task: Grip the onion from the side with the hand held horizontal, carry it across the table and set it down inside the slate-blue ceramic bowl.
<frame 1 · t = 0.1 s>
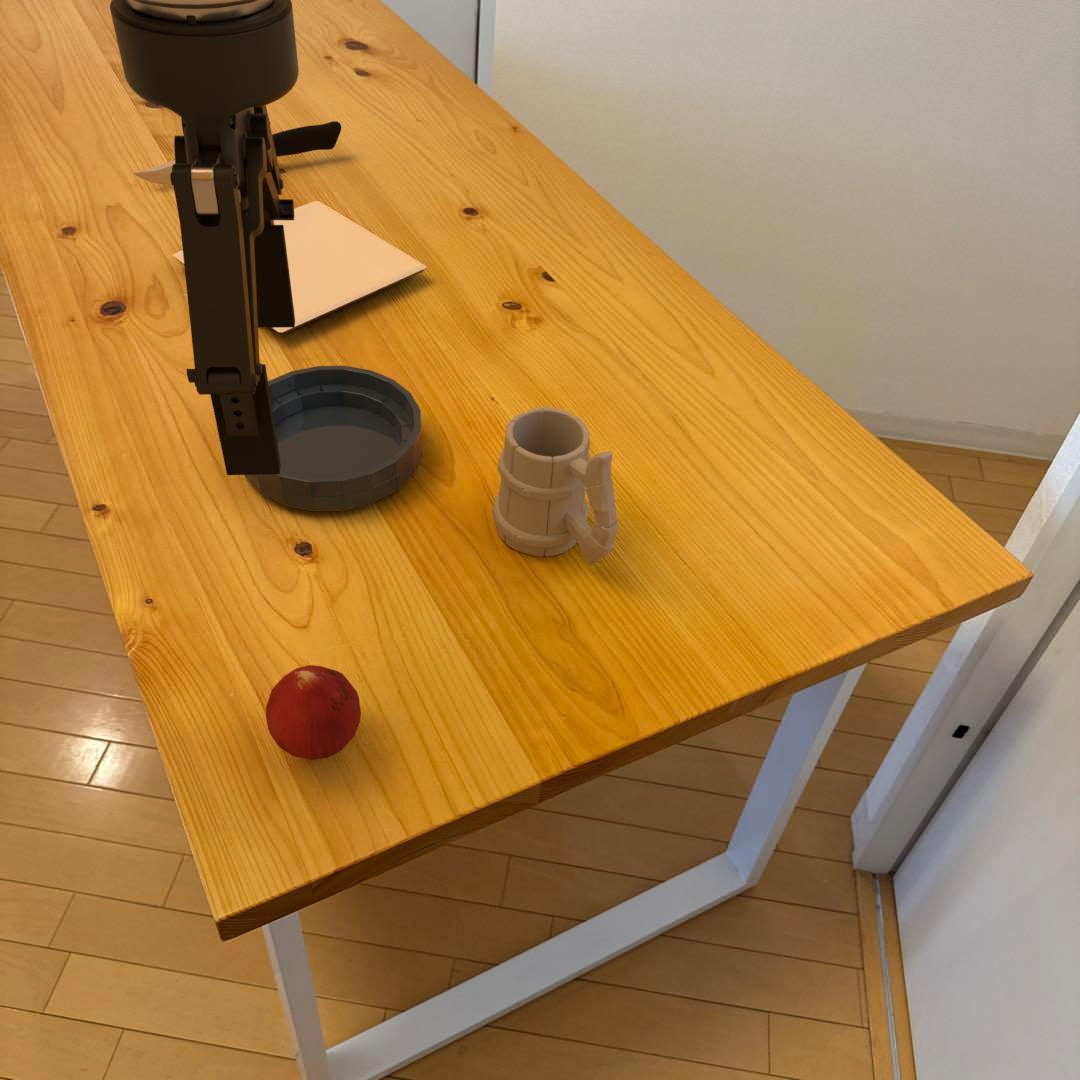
hand: (264, 391, 58), 21 cm above the table, tool pointing down, fingers open, 13 cm apart
plate: (302, 278, 106), on the table
onion: (319, 746, 66), on the table
bowl: (332, 456, 86), on the table
knife: (244, 176, 121), on the table
mug: (555, 542, 81), on the table
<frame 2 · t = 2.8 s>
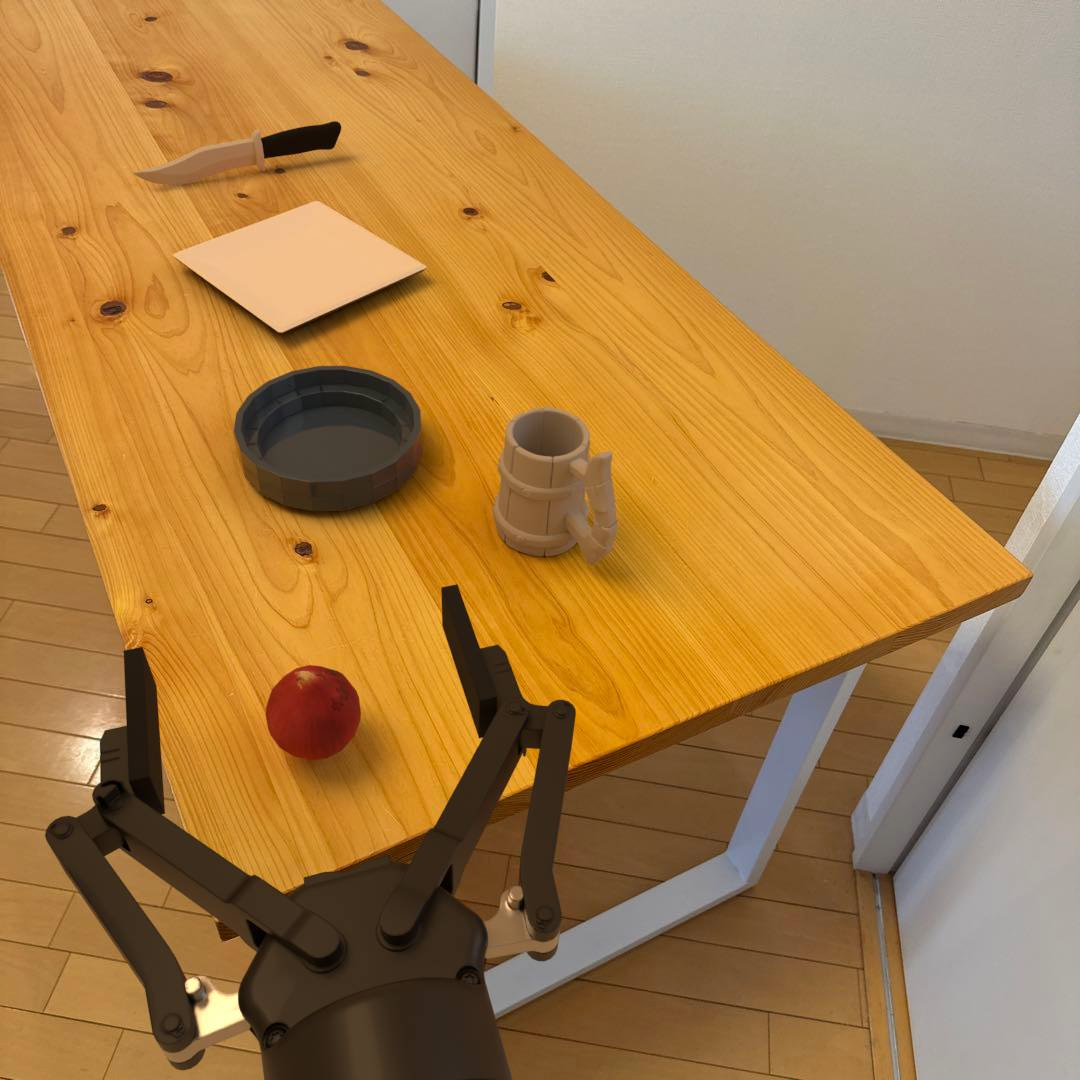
hand: (300, 635, 45), 22 cm above the table, tool horizontal, fingers open, 13 cm apart
nothing on the table moved.
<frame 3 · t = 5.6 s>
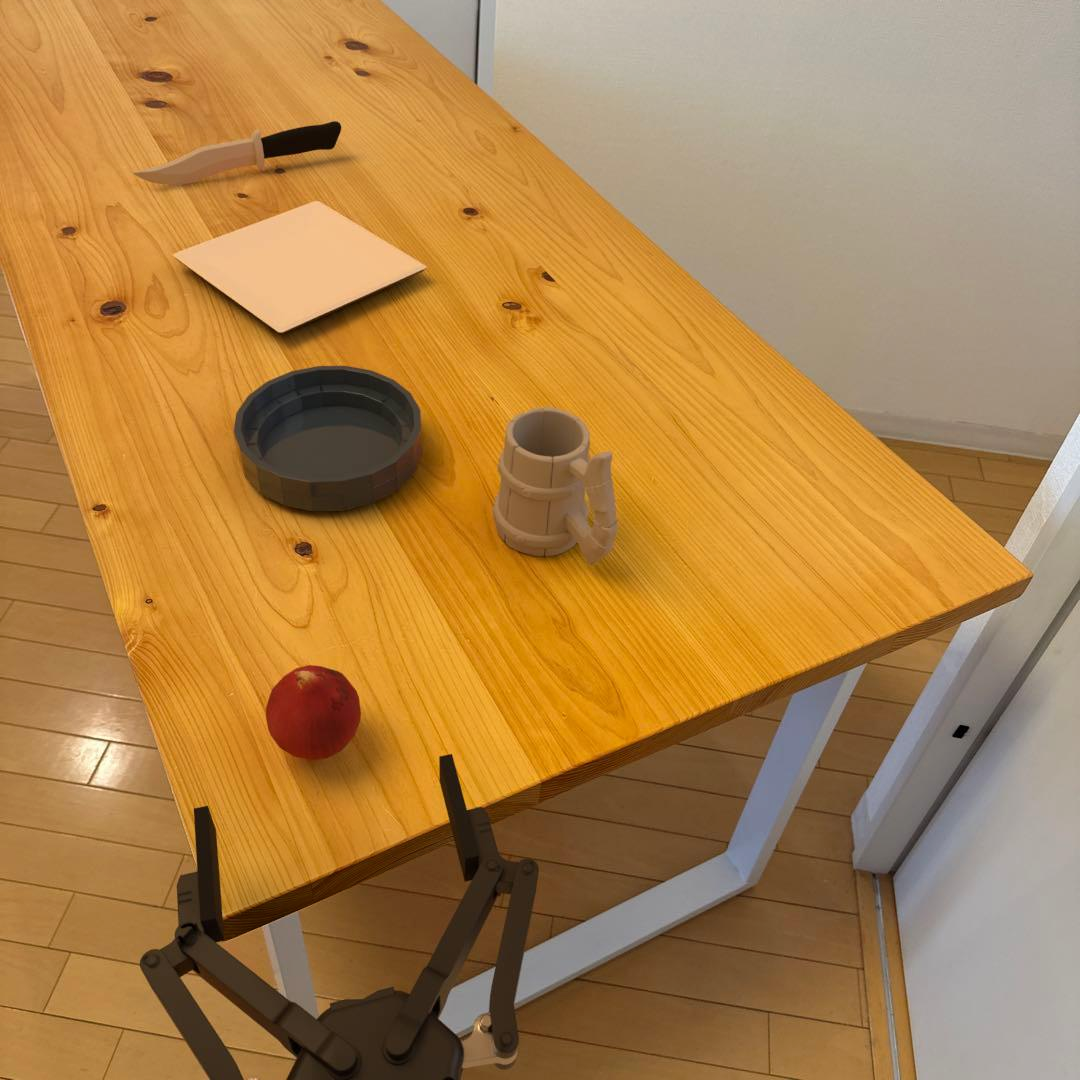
hand: (328, 792, 57), 6 cm above the table, tool horizontal, fingers open, 13 cm apart
nothing on the table moved.
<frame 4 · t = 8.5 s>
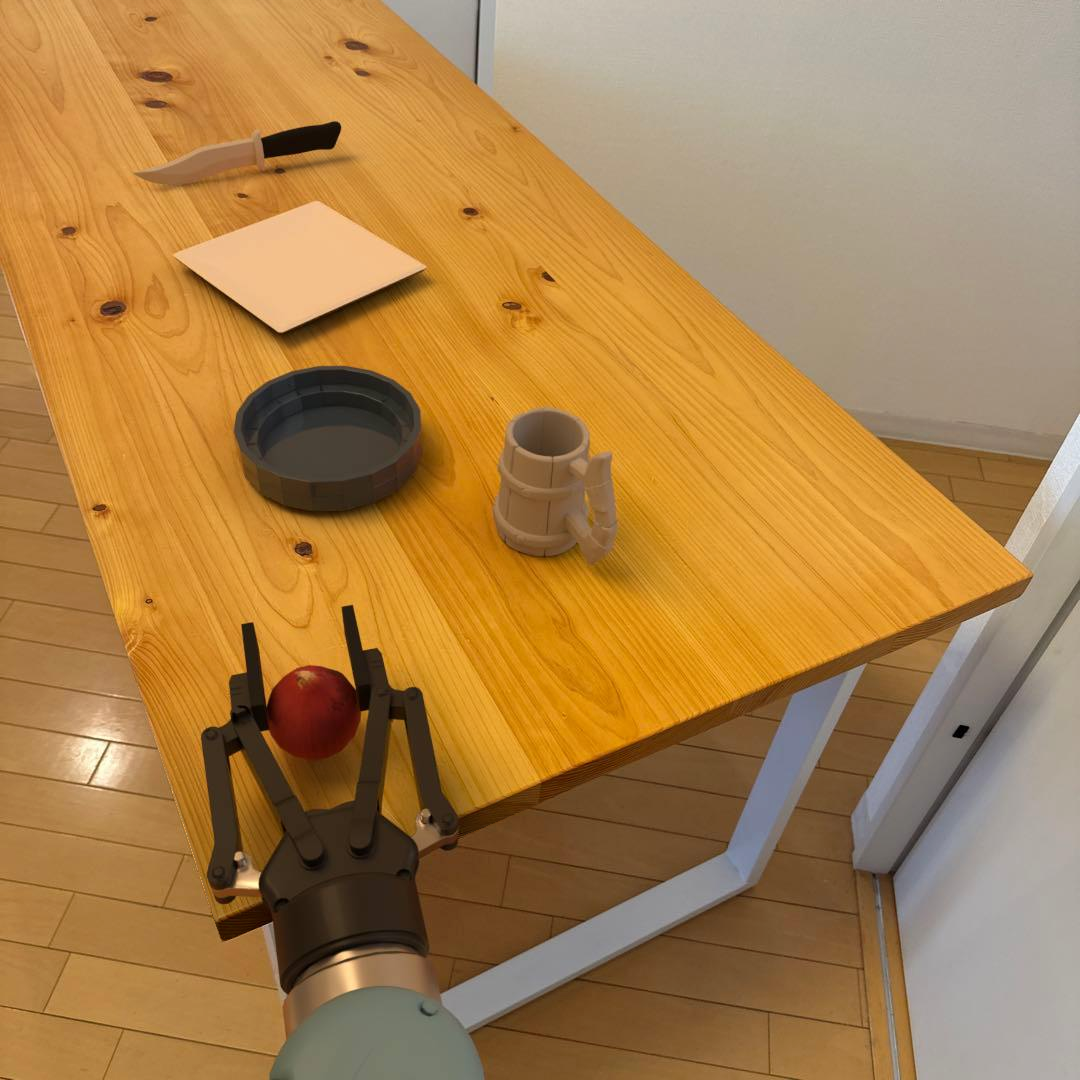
hand: (300, 628, 65), 6 cm above the table, tool horizontal, fingers closed on onion, 6 cm apart
onion: (319, 746, 66), on the table, touching gripper
everything else where it was.
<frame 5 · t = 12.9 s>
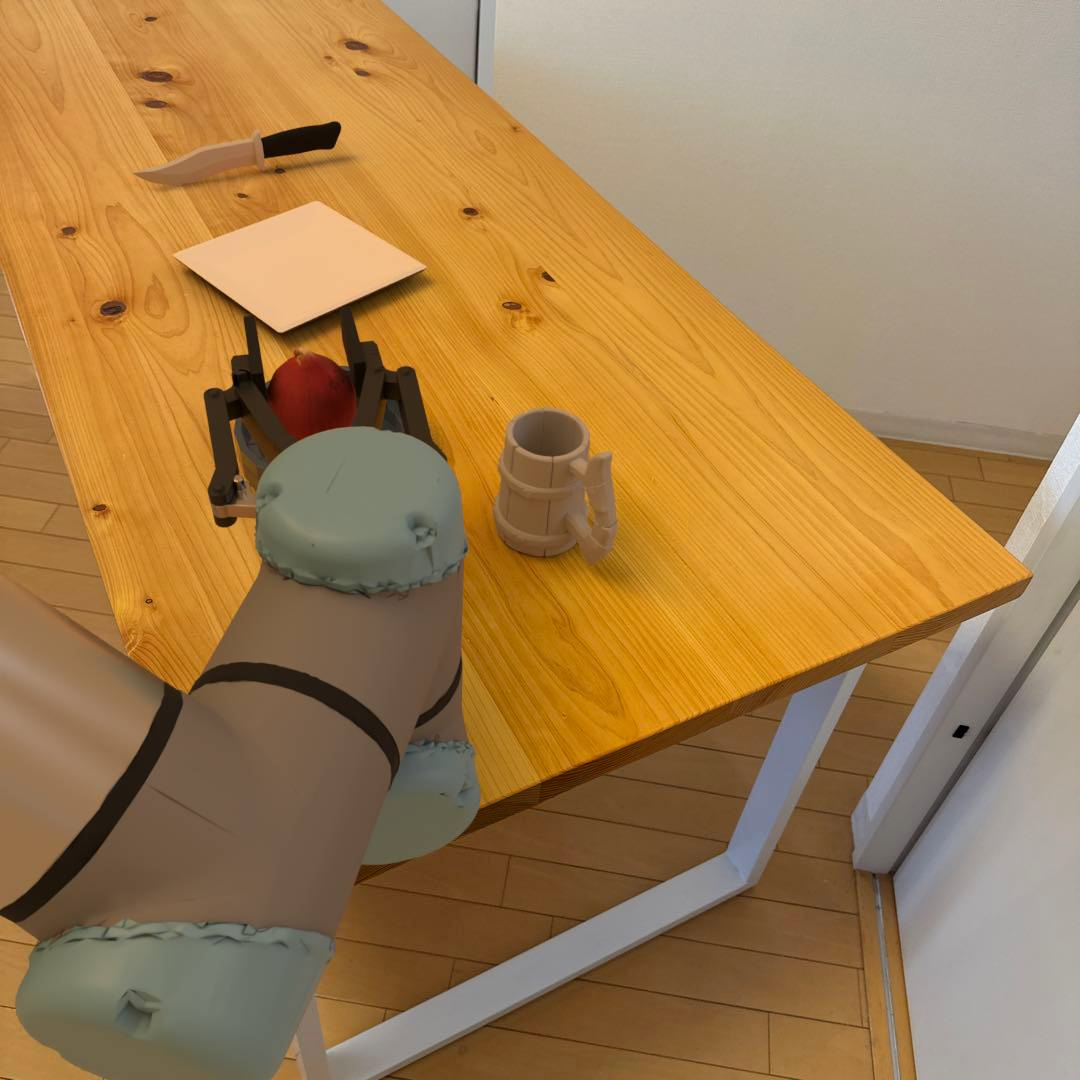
hand: (299, 328, 68), 18 cm above the table, tool horizontal, fingers closed on onion, 6 cm apart
onion: (317, 446, 69), point 12 cm above the table, touching gripper
everything else where it was.
when the fingers open (7 cm above the table, at t = 17.4 s): onion stays where it is, resting on bowl.
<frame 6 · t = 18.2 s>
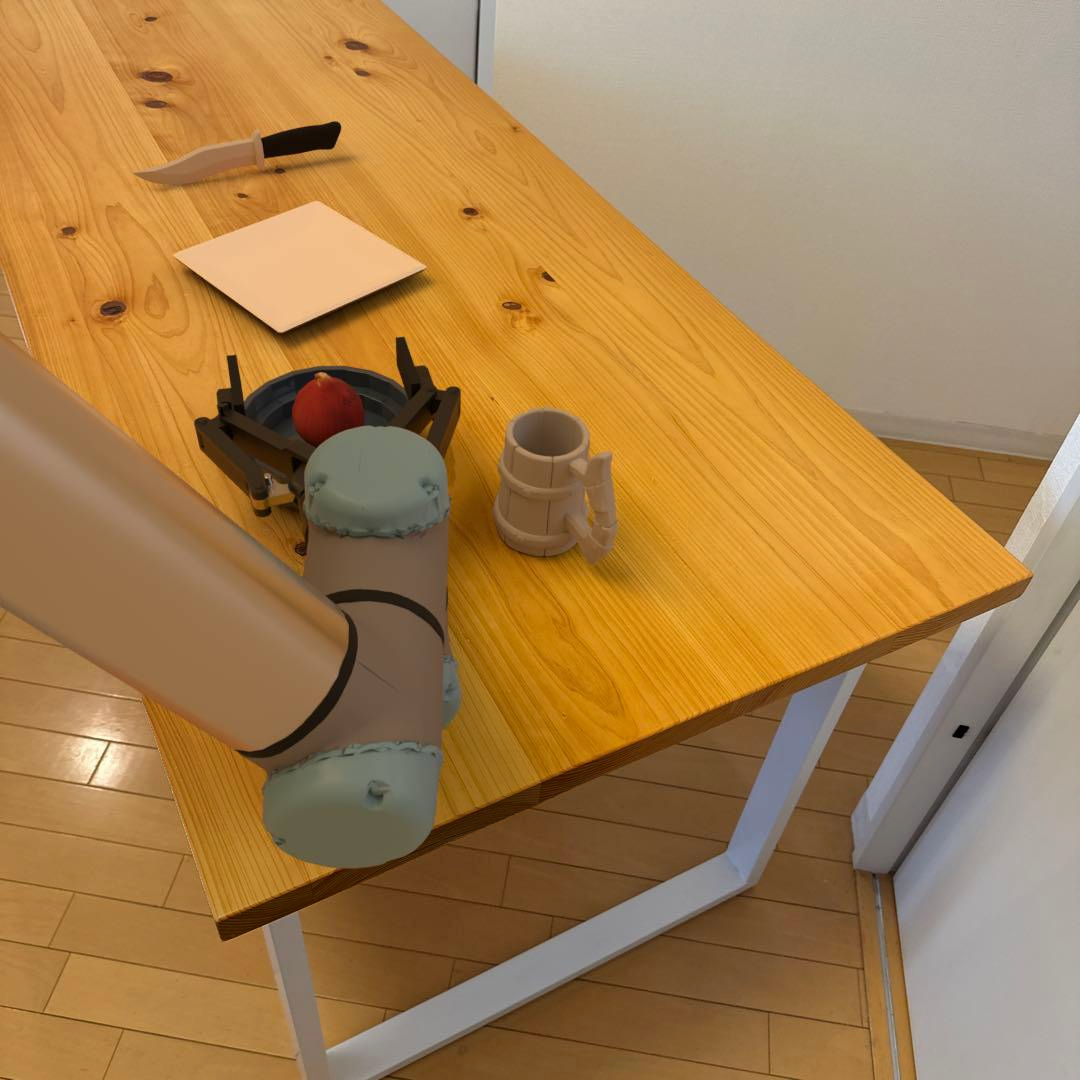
hand: (318, 359, 83), 8 cm above the table, tool horizontal, fingers open, 13 cm apart
onion: (332, 451, 86), point 1 cm above the table, touching bowl
everything else where it was.
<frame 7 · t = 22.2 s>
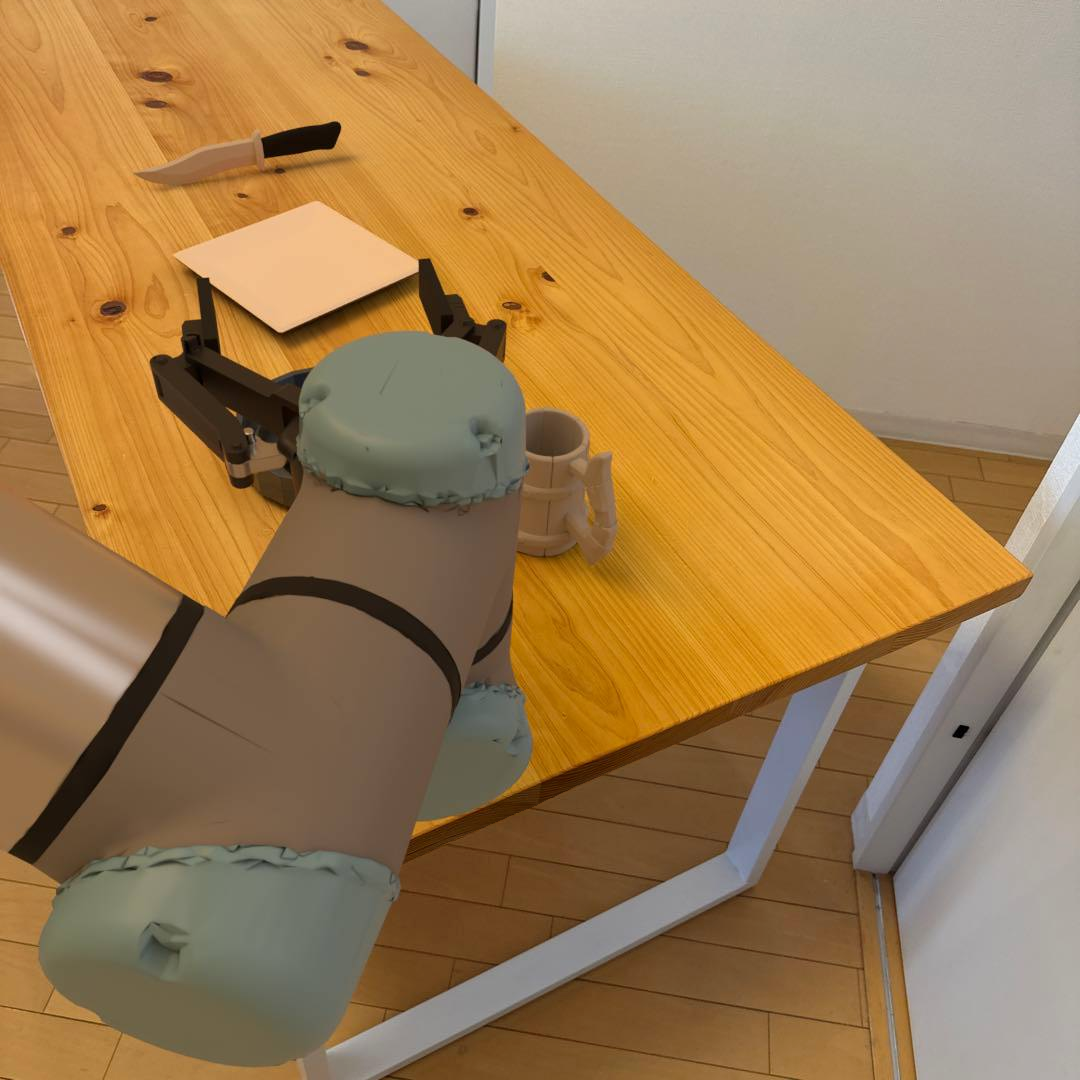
hand: (318, 286, 63), 23 cm above the table, tool horizontal, fingers open, 13 cm apart
nothing on the table moved.
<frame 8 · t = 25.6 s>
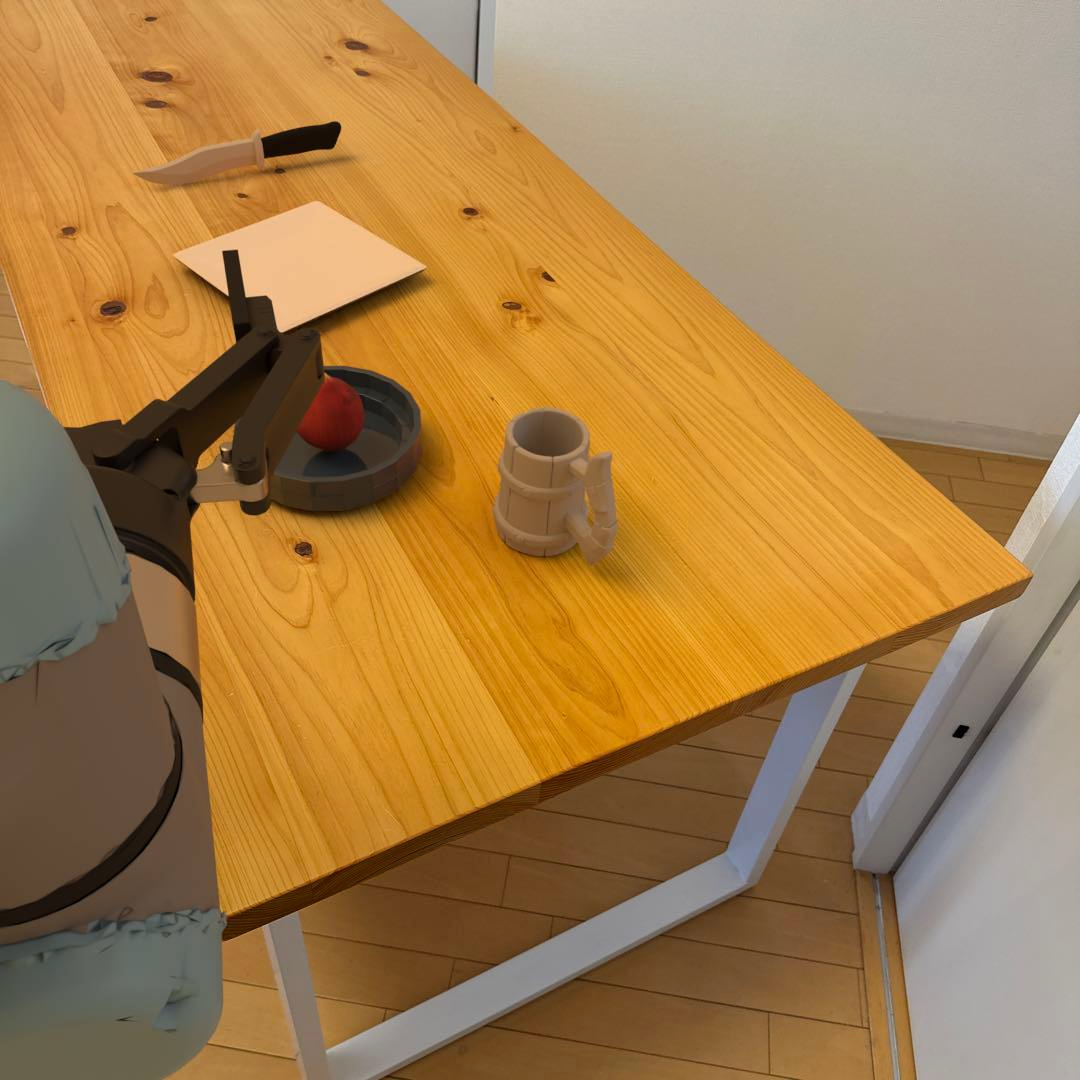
hand: (89, 286, 49), 30 cm above the table, tool horizontal, fingers open, 13 cm apart
nothing on the table moved.
at the end: onion inside the target area in the bowl (0.1 cm from its centre), point 0.6 cm above the bowl's base; the gripper is holding nothing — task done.
